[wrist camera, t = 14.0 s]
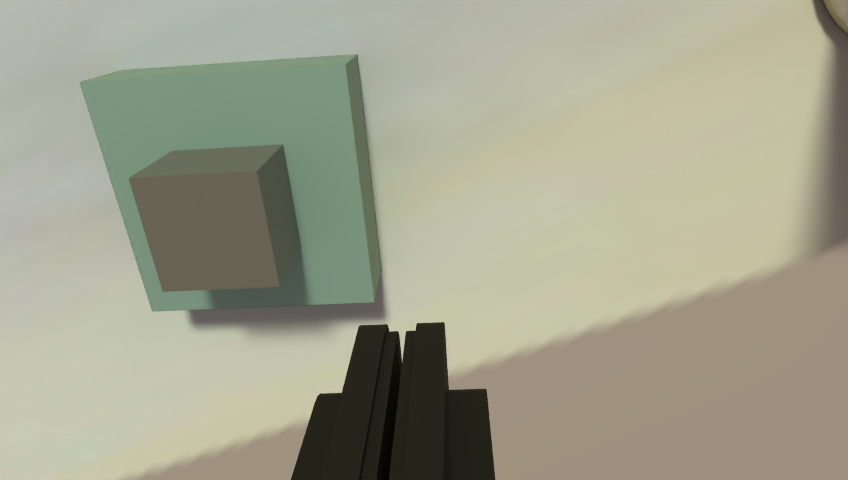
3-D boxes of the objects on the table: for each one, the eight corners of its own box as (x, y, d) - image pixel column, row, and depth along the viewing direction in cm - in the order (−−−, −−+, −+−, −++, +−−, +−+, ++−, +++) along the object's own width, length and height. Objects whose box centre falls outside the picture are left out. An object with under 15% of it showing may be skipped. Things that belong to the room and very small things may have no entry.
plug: (299, 127, 36) (256, 170, 28) (314, 222, 39) (279, 286, 31) (199, 133, 36) (128, 178, 28) (221, 226, 39) (162, 291, 31)
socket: (357, 54, 34) (345, 64, 30) (381, 270, 41) (374, 302, 37) (121, 70, 35) (79, 81, 31) (180, 278, 42) (152, 311, 37)
